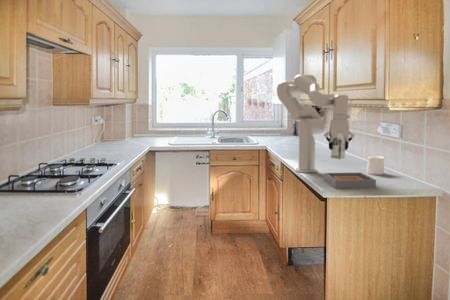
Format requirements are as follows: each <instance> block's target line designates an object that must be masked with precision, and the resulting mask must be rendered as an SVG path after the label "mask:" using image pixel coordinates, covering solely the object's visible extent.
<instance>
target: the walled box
mask: <svg viewBox="0 0 450 300" xmlns="http://www.w3.org/2000/svg"><path fill="white" fill-rule="evenodd" d="M323 180H324V182H326V183H327V184H328V185H330V186H331V187H332V188H334V189H376V188H377V187H376V186H377V180H376V179H375V178H373V177H371V176H368V175H367V174H365V173H363V172H324V173H323Z"/></svg>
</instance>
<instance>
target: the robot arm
mask: <svg viewBox="0 0 450 300" xmlns="http://www.w3.org/2000/svg"><path fill="white" fill-rule="evenodd" d="M320 87H321V86H320V84H319V83H318V82H317V78H316V77H315V76H314V75H313V74H305V73H304V74H301V73H300V74H297V75H296V76H295V77H294V79H293V80H282V81H280V82H279V83H278V84H277V87H276V94H277V98H278V100H279V101H280V102H281V103H282V104H283V106H284V107H285V109H286V110H287V112H288V113H289V115H290V116H291V117H292V119H293V120H294V121H295V122H298V123H297V133H298V167H297V168H296V169H295V171H296V172H297V173H305V174H306V173H309V174H310V173H317V172H318V169H317V168H315V167H316V166H315V164H316V163H315V162H316V140H315V137H314V135H319V134H321V133H324V132H325V129H326V125H325V121H324V119H323V118H322V117H321V115H320V114H319V113H318V111H317V110H316V109H315V108H314V107H313V106H311V105H302V104H301V103H300V102H299V100H298V99H297V97H295V96H294V95H301V94H306V95H307V96H308V99H309V101H310V102H311V103H312V104H313V105H315V106H316V107H318V108H324V109H325V108H326V109H327V108H333V110H332V111H333V112H332V119H330V123H329V130H328V131H327V132H326V133H324V134H323V136H324V138H325V140H326V141H327V142H328V149H329V150H330V151H331V150H332V145H333V143H332V141H333V139H334V138H337V135H338V133H343V136H344V138H345V139H346V144H345V151H347V150H348V148H349V144H350V142H351V141H352V140H353V138H354V137H355V134H353V133H352V132H351V131H350V124H349V123H350V122H349V120H348V119H350V118H351V116H350V115H349V114H348V112H349V111H348V110H349V96H348V95H347V94H336V93H322V92H320Z"/></svg>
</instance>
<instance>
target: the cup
mask: <svg viewBox="0 0 450 300" xmlns="http://www.w3.org/2000/svg"><path fill="white" fill-rule="evenodd" d="M366 171H367V172H366V173H367V174H368V175H373V176H379V175H384V172H385V157H384V156H380V155H370V156H367V166H366Z"/></svg>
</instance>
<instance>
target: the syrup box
mask: <svg viewBox="0 0 450 300" xmlns="http://www.w3.org/2000/svg"><path fill="white" fill-rule="evenodd" d="M332 143H333V145H332V150H330V158H331V159H334V160H343V159H345V158H346V150H345V144H346V139H345V138H344V136H343V133H338V135H337V138H334V139H333V141H332Z"/></svg>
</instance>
